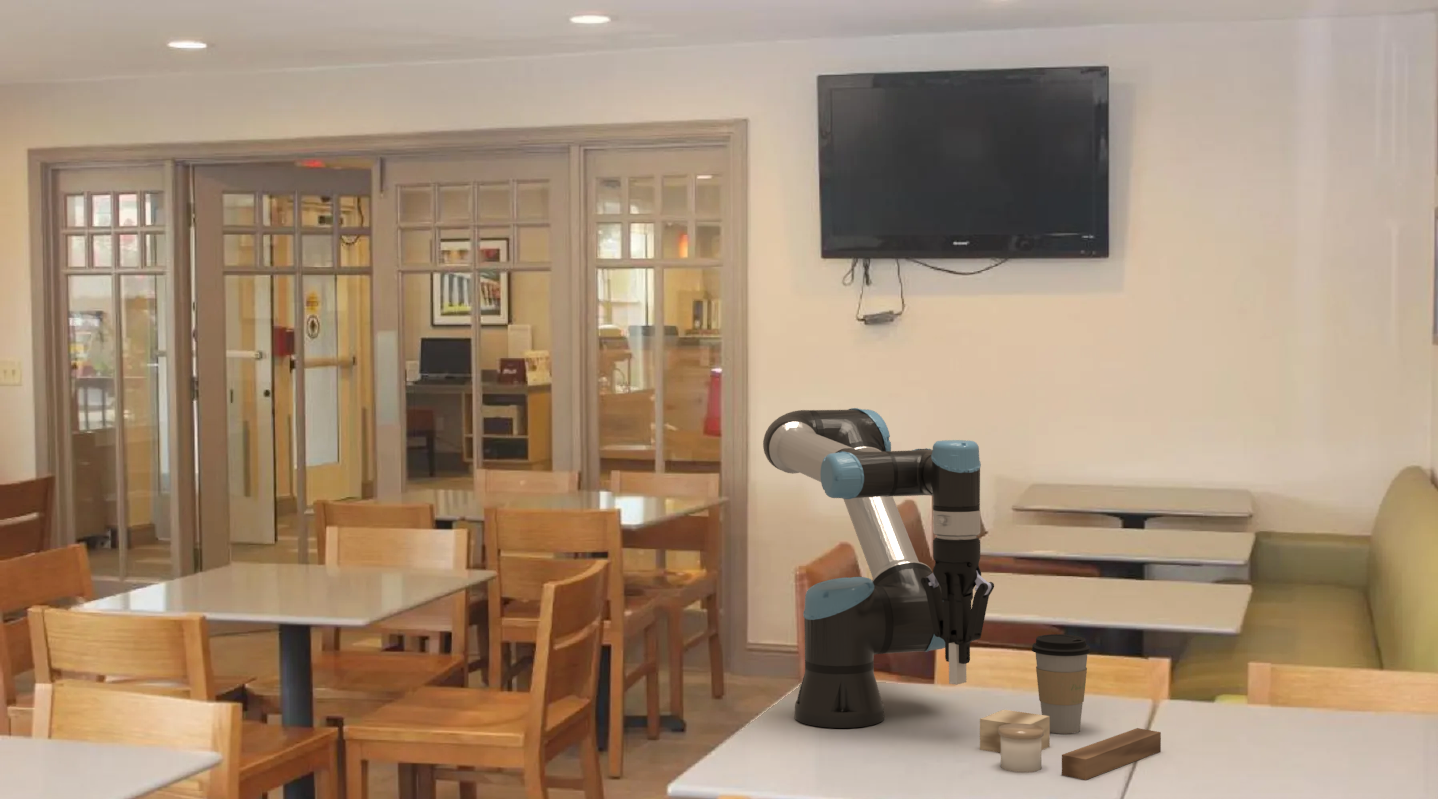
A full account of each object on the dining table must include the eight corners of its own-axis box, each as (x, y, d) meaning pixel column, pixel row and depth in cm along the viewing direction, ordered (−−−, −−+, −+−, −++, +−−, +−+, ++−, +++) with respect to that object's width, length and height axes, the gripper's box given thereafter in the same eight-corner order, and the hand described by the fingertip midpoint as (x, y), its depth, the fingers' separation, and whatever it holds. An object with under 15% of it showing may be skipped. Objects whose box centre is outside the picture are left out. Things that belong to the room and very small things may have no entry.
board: (1061, 775, 237) (1061, 754, 237) (1137, 747, 253) (1137, 728, 253) (1085, 780, 234) (1085, 759, 234) (1160, 751, 250) (1160, 732, 250)
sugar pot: (989, 767, 242) (989, 729, 241) (1014, 759, 246) (1014, 721, 246) (1027, 775, 237) (1027, 736, 237) (1052, 766, 242) (1052, 728, 242)
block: (979, 750, 252) (979, 718, 252) (1003, 740, 259) (1003, 709, 258) (1026, 758, 247) (1026, 725, 247) (1049, 747, 254) (1049, 716, 254)
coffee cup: (1091, 737, 259) (1091, 644, 258) (1031, 735, 261) (1031, 642, 260) (1089, 724, 268) (1089, 634, 268) (1031, 721, 270) (1031, 632, 270)
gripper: (909, 535, 261) (911, 681, 262) (976, 541, 252) (978, 691, 253) (937, 532, 267) (938, 674, 267) (1004, 537, 258) (1005, 684, 258)
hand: (957, 682), depth 260 cm, fingers closed
